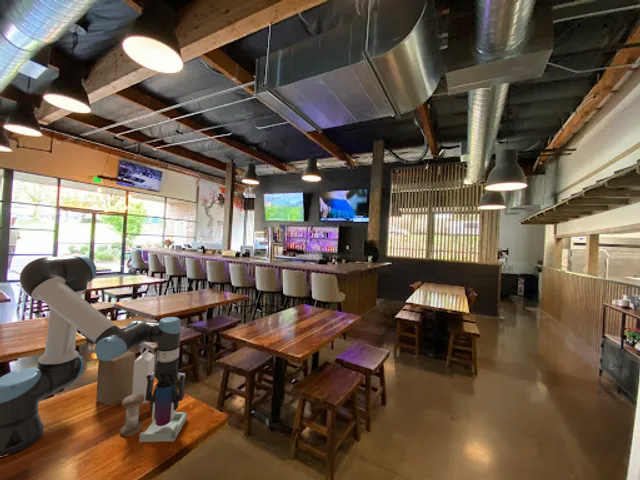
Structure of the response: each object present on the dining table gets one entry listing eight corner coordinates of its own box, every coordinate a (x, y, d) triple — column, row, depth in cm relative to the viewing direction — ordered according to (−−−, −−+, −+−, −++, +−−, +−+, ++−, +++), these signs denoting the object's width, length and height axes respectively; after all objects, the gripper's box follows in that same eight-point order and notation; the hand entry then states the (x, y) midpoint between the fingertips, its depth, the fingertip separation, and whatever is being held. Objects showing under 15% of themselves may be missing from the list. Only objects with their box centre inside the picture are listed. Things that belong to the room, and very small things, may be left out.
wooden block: (94, 401, 116) (97, 356, 116) (118, 389, 126) (120, 347, 125) (111, 407, 113) (114, 361, 113) (133, 394, 123) (136, 352, 122)
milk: (131, 404, 116) (134, 354, 116) (138, 395, 122) (140, 348, 122) (146, 403, 117) (149, 354, 117) (152, 395, 123) (155, 348, 123)
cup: (148, 425, 100) (151, 386, 100) (162, 414, 107) (165, 377, 107) (164, 429, 99) (166, 389, 99) (177, 417, 105) (179, 380, 105)
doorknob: (115, 437, 98) (117, 404, 98) (127, 423, 105) (129, 393, 105) (135, 436, 99) (138, 404, 98) (146, 423, 105) (147, 393, 105)
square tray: (139, 441, 96) (139, 434, 96) (155, 419, 108) (156, 412, 108) (174, 441, 98) (174, 433, 98) (186, 418, 110) (187, 412, 110)
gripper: (136, 362, 98) (131, 424, 98) (189, 363, 100) (185, 424, 100) (146, 353, 105) (143, 411, 106) (196, 354, 107) (192, 411, 108)
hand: (163, 417), depth 103 cm, fingers closed on cup, 6 cm apart
